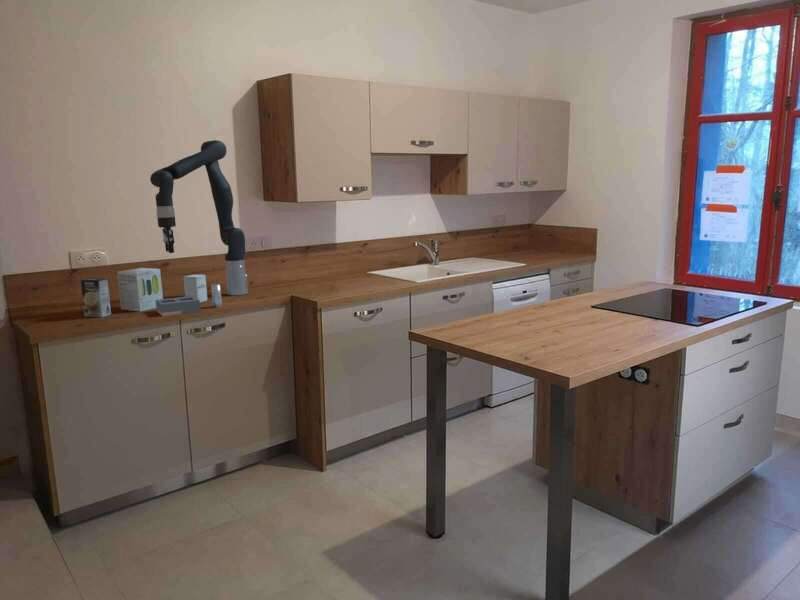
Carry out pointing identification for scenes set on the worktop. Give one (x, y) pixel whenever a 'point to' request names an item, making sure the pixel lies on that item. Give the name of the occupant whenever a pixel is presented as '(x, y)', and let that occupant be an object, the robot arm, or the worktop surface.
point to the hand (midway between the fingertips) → (170, 252)
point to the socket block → (178, 305)
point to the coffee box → (96, 297)
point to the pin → (216, 295)
